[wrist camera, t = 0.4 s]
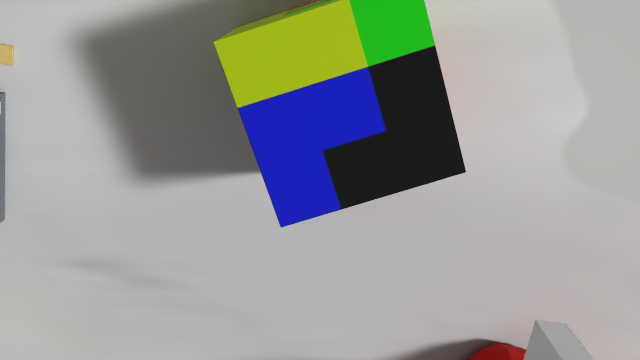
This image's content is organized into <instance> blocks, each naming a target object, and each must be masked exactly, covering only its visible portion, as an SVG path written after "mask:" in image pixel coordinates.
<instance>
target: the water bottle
mask: <svg viewBox="0 0 640 360" xmlns="http://www.w3.org/2000/svg"><path fill="white" fill-rule="evenodd" d="M525 354H526V350H525V349H523V348H519V347H514V346H509V345H504V344H496V345H493V346H489V347H486V348H482V349H481V350H480V351H478V352H477V353H476V354H475V355H473V356H472V357H471V358H469V359H468V360H524V357H525Z"/></svg>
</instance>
